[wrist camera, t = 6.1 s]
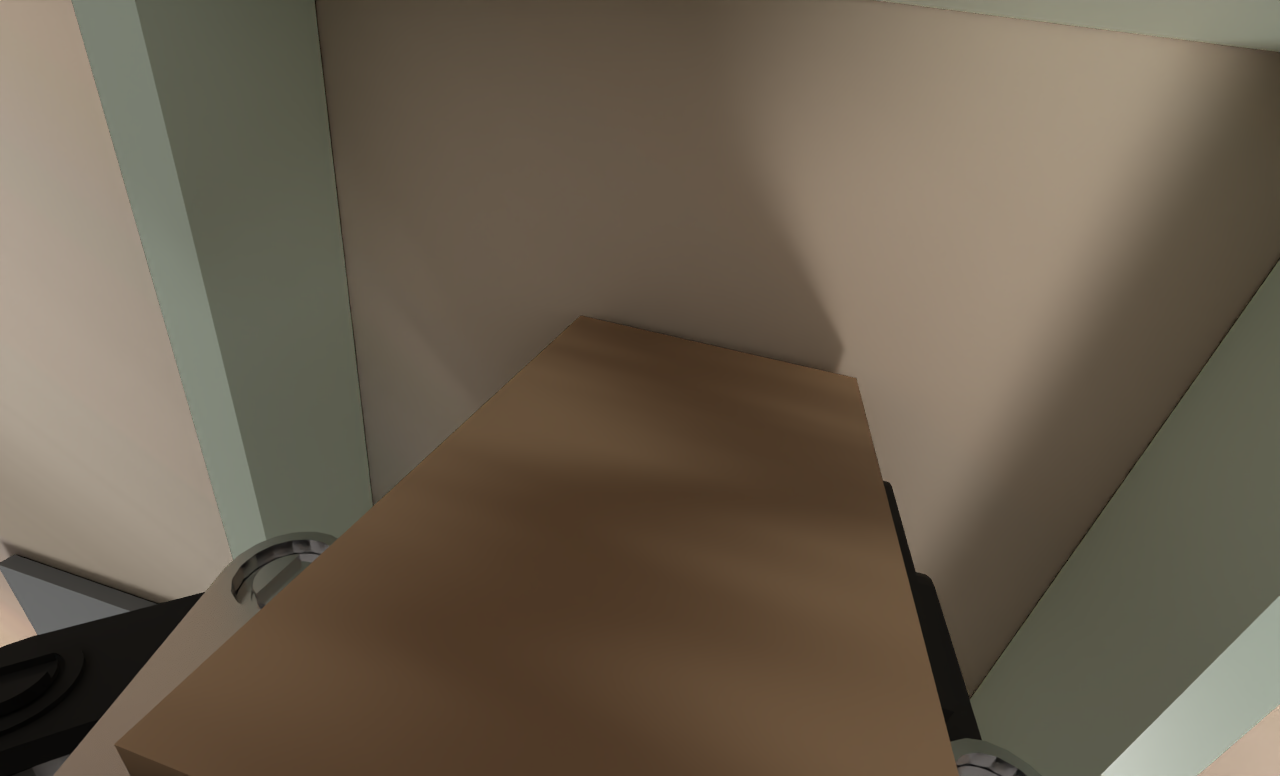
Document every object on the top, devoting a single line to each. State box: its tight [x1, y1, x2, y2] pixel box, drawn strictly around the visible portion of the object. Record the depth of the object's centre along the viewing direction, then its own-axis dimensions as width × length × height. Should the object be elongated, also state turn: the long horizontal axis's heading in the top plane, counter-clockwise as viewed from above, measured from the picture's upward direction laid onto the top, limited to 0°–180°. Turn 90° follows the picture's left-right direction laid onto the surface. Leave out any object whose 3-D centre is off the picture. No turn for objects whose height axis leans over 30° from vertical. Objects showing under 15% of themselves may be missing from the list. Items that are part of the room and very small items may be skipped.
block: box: [114, 316, 959, 776], centre depth 7 cm, size 5×5×8 cm
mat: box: [0, 555, 156, 635], centre depth 22 cm, size 14×14×1 cm
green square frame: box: [72, 0, 1280, 776], centre depth 10 cm, size 17×17×3 cm
